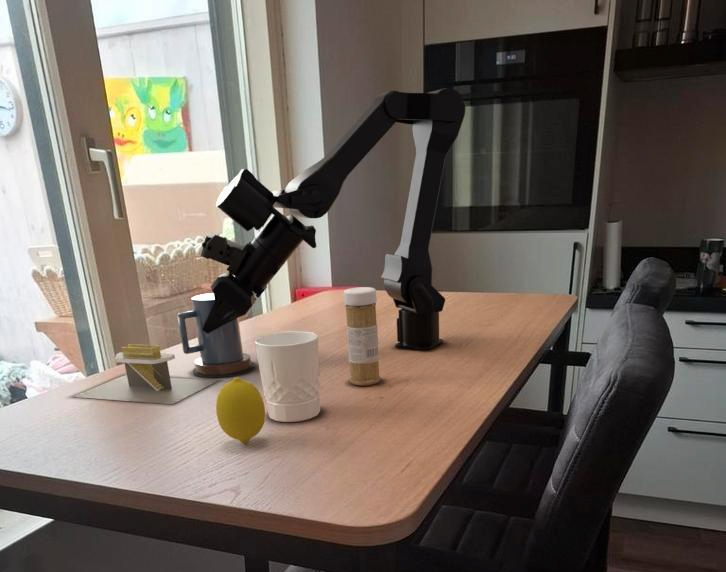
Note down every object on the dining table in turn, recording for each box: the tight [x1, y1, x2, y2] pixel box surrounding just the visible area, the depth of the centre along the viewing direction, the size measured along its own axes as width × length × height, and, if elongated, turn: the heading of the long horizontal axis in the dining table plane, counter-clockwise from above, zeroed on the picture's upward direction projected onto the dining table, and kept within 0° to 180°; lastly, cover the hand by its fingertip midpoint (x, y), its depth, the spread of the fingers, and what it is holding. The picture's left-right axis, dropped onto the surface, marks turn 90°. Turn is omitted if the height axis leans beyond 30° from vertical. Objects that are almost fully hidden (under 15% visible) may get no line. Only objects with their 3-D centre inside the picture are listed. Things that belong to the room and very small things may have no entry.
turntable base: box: [192, 361, 256, 379], centre depth 115 cm, size 10×10×1 cm
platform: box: [73, 343, 218, 405], centre depth 105 cm, size 12×18×7 cm, turn 68°
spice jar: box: [343, 286, 381, 386], centre depth 100 cm, size 5×5×13 cm
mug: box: [177, 292, 252, 375], centre depth 112 cm, size 11×9×12 cm
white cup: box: [254, 330, 321, 423], centre depth 89 cm, size 8×8×10 cm
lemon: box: [215, 376, 266, 444], centre depth 81 cm, size 6×6×8 cm
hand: (209, 326), depth 112 cm, fingers closed on mug, 7 cm apart
